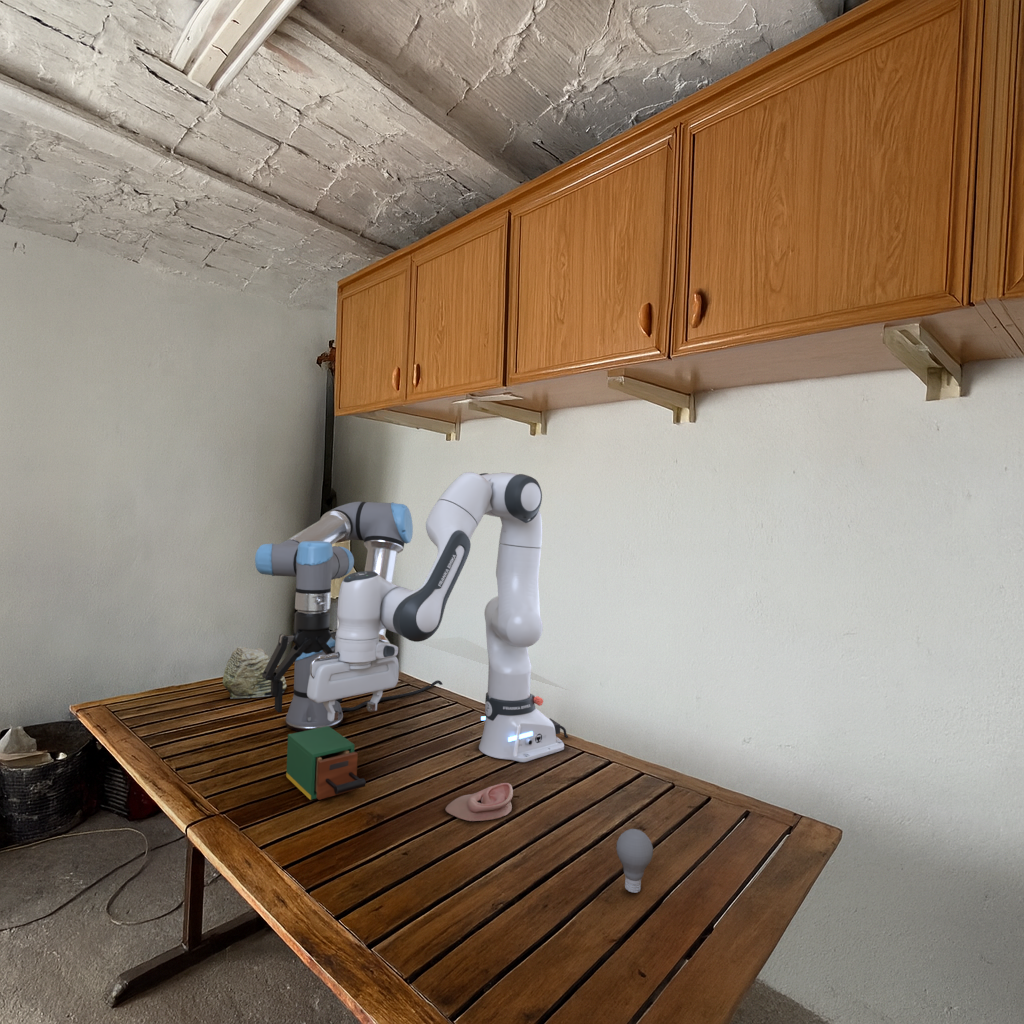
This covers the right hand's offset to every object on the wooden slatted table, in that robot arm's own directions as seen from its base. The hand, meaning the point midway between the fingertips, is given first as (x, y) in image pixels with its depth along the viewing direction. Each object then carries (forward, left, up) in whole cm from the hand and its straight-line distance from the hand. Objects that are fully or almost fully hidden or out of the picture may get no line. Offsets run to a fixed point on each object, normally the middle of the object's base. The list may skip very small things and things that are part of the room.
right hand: (352, 715), depth 132 cm
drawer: (+3, -5, -17) cm, 18 cm away
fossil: (+8, -80, -18) cm, 82 cm away
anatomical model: (-23, +15, -18) cm, 33 cm away
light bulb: (-34, +50, -18) cm, 63 cm away
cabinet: (+4, -11, -18) cm, 21 cm away
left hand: (+6, -14, -1) cm, 15 cm away
